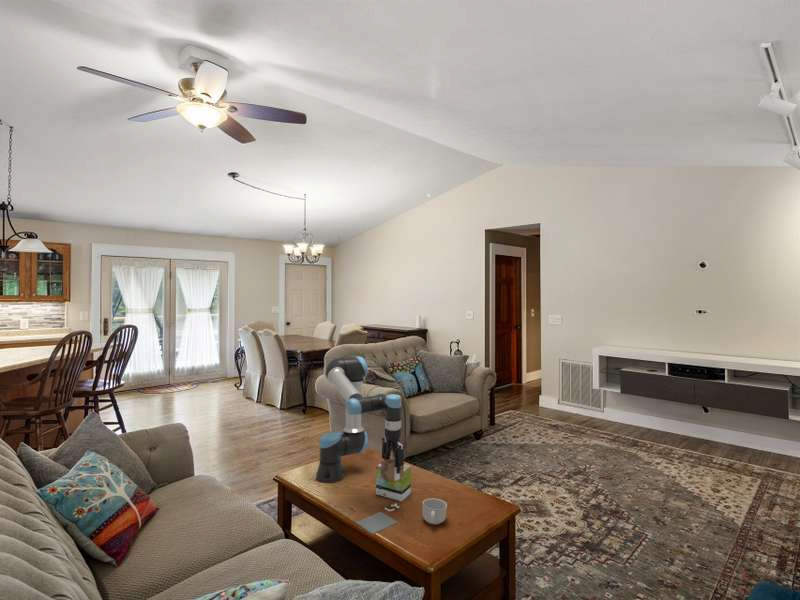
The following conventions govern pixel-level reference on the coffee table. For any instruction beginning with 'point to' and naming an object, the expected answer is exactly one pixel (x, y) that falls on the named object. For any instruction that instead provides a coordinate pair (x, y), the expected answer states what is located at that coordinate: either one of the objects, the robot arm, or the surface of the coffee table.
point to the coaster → (376, 522)
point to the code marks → (392, 509)
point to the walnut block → (389, 470)
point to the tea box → (394, 485)
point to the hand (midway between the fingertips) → (392, 477)
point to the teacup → (434, 510)
